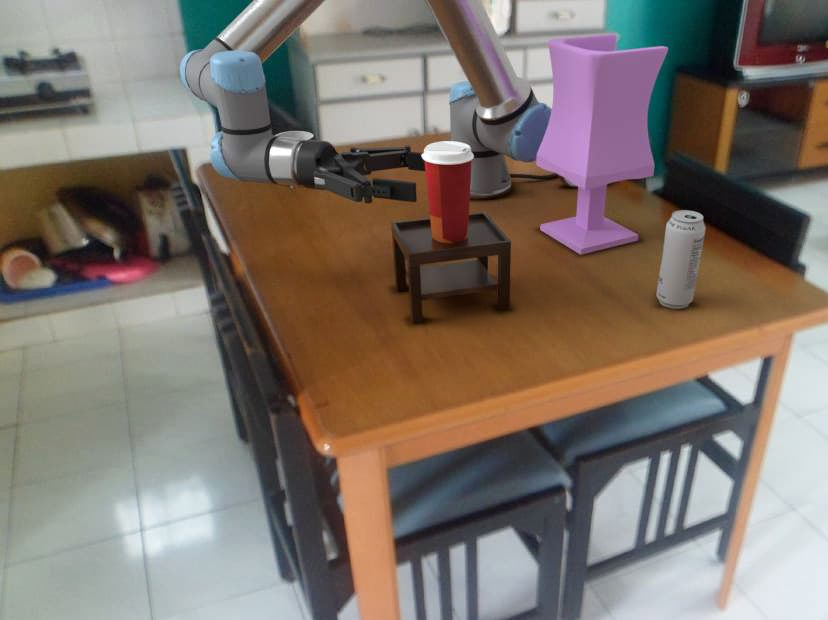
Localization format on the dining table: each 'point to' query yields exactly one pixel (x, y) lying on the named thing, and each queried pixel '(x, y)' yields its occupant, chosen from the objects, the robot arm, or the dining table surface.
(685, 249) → the energy drink can
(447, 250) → the rack
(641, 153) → the vase
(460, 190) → the paper cup
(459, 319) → the dining table surface
